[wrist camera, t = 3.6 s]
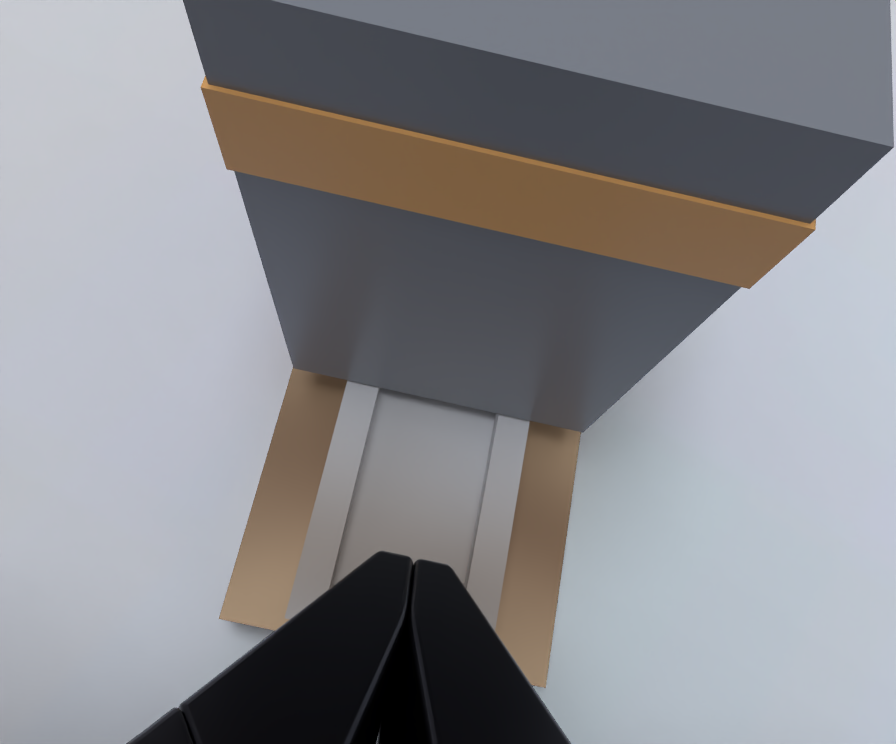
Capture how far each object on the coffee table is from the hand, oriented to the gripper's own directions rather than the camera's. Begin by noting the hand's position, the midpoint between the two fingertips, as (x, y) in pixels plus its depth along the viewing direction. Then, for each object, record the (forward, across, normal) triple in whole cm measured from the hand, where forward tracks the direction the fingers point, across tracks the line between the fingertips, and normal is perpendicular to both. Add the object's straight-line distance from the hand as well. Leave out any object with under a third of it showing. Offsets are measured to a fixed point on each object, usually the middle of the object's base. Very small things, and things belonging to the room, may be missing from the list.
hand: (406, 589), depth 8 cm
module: (+7, 0, +1) cm, 7 cm away
